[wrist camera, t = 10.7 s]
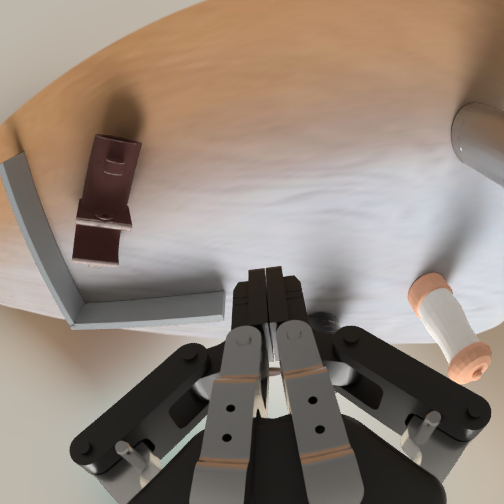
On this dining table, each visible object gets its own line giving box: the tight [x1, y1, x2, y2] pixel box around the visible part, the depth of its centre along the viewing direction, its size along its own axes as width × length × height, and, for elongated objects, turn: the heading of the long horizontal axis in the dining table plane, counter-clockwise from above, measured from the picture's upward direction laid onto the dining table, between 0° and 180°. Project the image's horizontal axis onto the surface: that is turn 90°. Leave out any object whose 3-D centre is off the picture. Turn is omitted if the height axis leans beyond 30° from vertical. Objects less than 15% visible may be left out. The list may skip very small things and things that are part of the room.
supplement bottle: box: [308, 313, 340, 393], centre depth 45 cm, size 7×7×12 cm
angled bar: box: [0, 152, 226, 330], centre depth 38 cm, size 25×28×5 cm
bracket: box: [72, 134, 142, 268], centre depth 34 cm, size 6×17×10 cm, turn 162°
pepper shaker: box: [408, 273, 492, 384], centre depth 39 cm, size 7×7×19 cm
